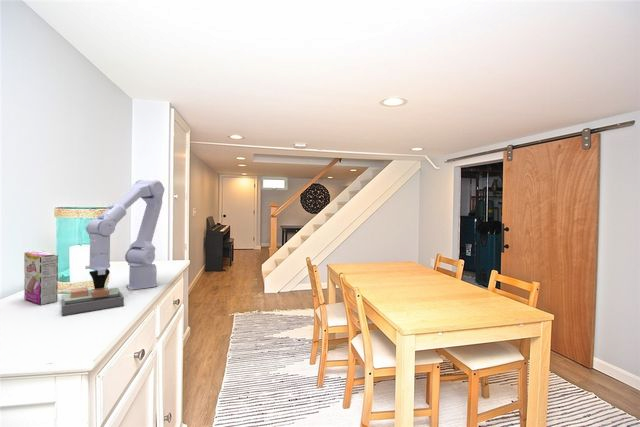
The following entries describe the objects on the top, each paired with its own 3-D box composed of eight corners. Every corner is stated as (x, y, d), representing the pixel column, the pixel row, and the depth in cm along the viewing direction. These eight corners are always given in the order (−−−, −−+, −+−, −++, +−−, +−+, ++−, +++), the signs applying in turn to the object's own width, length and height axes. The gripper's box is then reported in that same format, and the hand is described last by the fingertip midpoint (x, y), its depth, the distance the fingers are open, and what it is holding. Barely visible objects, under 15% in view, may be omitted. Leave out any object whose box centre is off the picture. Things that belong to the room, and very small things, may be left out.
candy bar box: (22, 300, 100) (23, 252, 100) (41, 296, 104) (42, 250, 104) (39, 306, 95) (40, 255, 95) (58, 301, 100) (59, 253, 99)
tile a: (107, 292, 105) (107, 287, 105) (109, 295, 102) (109, 290, 102) (91, 294, 102) (91, 289, 102) (92, 298, 99) (92, 292, 99)
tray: (119, 299, 104) (119, 290, 104) (123, 306, 98) (123, 297, 98) (61, 308, 94) (61, 298, 94) (62, 316, 88) (62, 306, 88)
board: (117, 292, 112) (117, 287, 111) (121, 298, 105) (121, 293, 105) (61, 300, 101) (61, 294, 101) (61, 307, 95) (61, 301, 94)
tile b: (87, 292, 104) (87, 287, 104) (88, 296, 101) (88, 290, 101) (70, 295, 101) (70, 289, 101) (70, 298, 98) (70, 292, 98)
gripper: (84, 250, 107) (83, 287, 107) (86, 257, 96) (86, 298, 96) (108, 249, 111) (107, 285, 112) (113, 255, 100) (112, 294, 101)
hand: (99, 291), depth 104 cm, fingers closed
